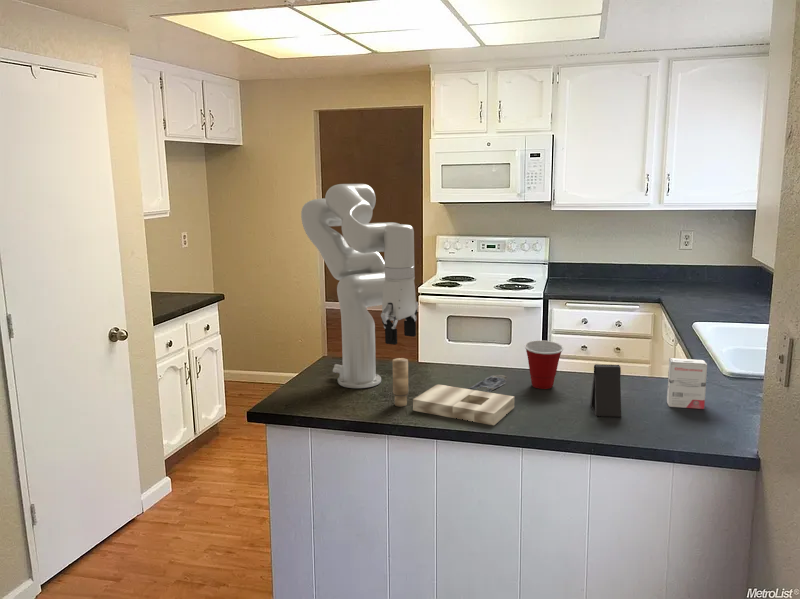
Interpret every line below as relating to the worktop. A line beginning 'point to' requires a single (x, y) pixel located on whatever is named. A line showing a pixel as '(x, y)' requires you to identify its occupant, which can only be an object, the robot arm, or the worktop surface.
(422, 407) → the board
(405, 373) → the peg
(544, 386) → the plastic cup
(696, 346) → the worktop surface
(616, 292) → the worktop surface
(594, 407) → the phone stand
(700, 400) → the ink box
